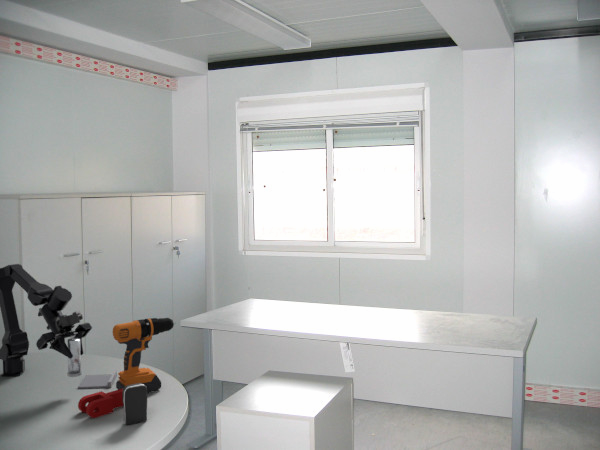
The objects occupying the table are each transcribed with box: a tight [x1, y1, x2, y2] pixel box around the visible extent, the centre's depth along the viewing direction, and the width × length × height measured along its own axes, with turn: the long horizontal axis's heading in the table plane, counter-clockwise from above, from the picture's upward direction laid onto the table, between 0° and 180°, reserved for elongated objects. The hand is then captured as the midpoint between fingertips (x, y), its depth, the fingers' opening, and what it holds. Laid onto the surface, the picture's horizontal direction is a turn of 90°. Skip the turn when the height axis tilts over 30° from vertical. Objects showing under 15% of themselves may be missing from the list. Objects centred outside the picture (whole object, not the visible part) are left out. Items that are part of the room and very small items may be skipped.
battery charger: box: [122, 383, 148, 426], centre depth 178 cm, size 7×4×11 cm, turn 125°
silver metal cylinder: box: [67, 338, 82, 378], centre depth 198 cm, size 4×4×12 cm
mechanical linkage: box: [77, 389, 124, 419], centre depth 187 cm, size 16×7×5 cm, turn 136°
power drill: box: [112, 317, 176, 394], centre depth 203 cm, size 22×7×25 cm, turn 124°
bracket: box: [77, 370, 118, 390], centre depth 211 cm, size 11×12×2 cm
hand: (76, 356), depth 198 cm, fingers closed on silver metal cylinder, 4 cm apart
